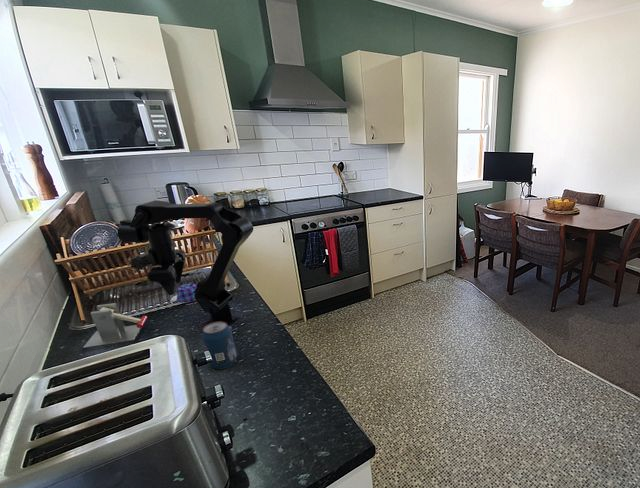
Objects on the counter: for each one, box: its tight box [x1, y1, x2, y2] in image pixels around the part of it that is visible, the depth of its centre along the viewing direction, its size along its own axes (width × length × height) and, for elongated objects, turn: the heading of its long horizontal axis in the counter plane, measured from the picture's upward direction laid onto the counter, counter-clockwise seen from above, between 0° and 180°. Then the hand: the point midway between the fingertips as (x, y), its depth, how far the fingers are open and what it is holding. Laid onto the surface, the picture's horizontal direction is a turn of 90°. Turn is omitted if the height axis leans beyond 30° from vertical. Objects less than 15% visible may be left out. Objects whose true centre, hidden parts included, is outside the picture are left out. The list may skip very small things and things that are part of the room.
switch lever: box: [100, 307, 148, 328], centre depth 105 cm, size 11×5×2 cm
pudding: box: [170, 283, 198, 306], centre depth 129 cm, size 12×12×5 cm
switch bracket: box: [82, 302, 144, 350], centre depth 104 cm, size 12×9×11 cm
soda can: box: [201, 321, 238, 370], centre depth 96 cm, size 7×7×12 cm
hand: (174, 288), depth 112 cm, fingers open, 9 cm apart
